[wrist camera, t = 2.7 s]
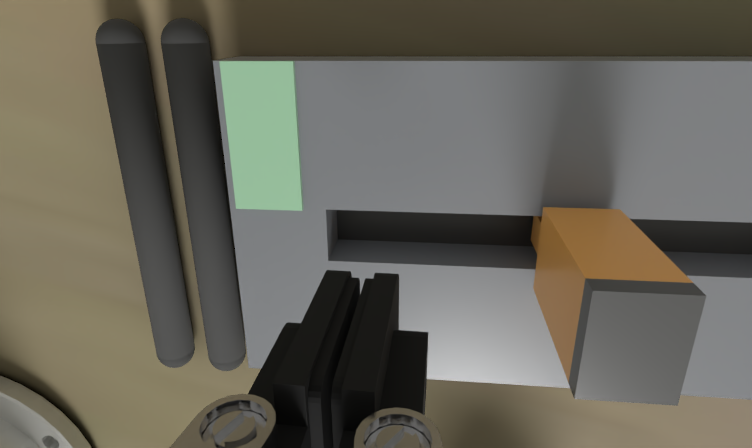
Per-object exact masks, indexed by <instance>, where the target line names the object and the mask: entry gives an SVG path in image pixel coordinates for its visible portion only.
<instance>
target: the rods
mask: <svg viewBox="0 0 752 448" xmlns="http://www.w3.org/2000/svg"><path fill="white" fill-rule="evenodd" d="M96 46H97V51H98V56H99V61H100V66H101V72H102V77H103V82H104V87H105V92H106V97H107V102H108V107H109V112H110V117H111V123H112V128H113V133H114V138H115V143H116V148H117V153H118V158H119V163H120V169H121V174H122V179H123V184H124V189H125V194H126V199H127V204H128V209H129V215H130V220H131V225H132V230H133V235H134V240H135V245H136V250H137V255H138V261H139V266H140V271H141V276H142V281H143V286H144V291H145V296H146V301H147V307H148V312H149V317H150V322H151V327H152V332H153V337H154V342H155V347H156V353H157V356H158V359H159V360H160V362H161V363H162V364H164V365H165V366H167V367H172V368H176V367H181V366H183V365H185V364H186V363H188V362H189V361H190V359H191V358H192V356H193V354H194V350H195V346H194V339H193V333H192V327H191V321H190V314H189V308H188V302H187V296H186V290H185V283H184V277H183V271H182V265H181V259H180V253H179V246H178V240H177V234H176V228H175V222H174V216H173V209H172V203H171V197H170V191H169V185H168V179H167V172H166V166H165V160H164V154H163V148H162V142H161V135H160V129H159V123H158V117H157V111H156V104H155V98H154V92H153V86H152V80H151V74H150V67H149V61H148V55H147V49H146V43H145V39H144V36H143V34H142V33H141V31H140V30H139V29H138V28H137V27H136V26H135V25H134V24H132V23H131V22H129V21H126V20H123V19H111V20H108V21H106V22H104V23H103V24H102V25H101V26H100V27H99V28H98V30H97V33H96ZM161 46H162V52H163V59H164V65H165V72H166V79H167V85H168V92H169V98H170V105H171V112H172V118H173V125H174V131H175V138H176V145H177V151H178V158H179V164H180V171H181V178H182V184H183V191H184V197H185V204H186V211H187V217H188V224H189V230H190V237H191V244H192V250H193V257H194V263H195V270H196V277H197V283H198V290H199V296H200V303H201V310H202V316H203V323H204V329H205V336H206V343H207V349H208V356H209V360H210V362H211V364H212V365H213V366H214V367H215V368H217V369H219V370H222V371H230V370H233V369H235V368H237V367H238V366H239V365H240V364H241V363H242V362H243V360H244V358H245V354H246V347H245V339H244V331H243V322H242V314H241V305H240V297H239V289H238V280H237V272H236V263H235V255H234V246H233V238H232V230H231V221H230V213H229V204H228V196H227V187H226V179H225V171H224V162H223V154H222V145H221V137H220V128H219V120H218V112H217V103H216V95H215V86H214V78H213V70H212V61H211V53H210V44H209V39H208V36H207V33H206V32H205V30H204V29H203V28H202V27H201V26H200V25H199V24H198V23H196V22H195V21H193V20H190V19H185V18H179V19H175V20H172V21H171V22H169V23H168V24H167V25H166V26H165V28H164V29H163V32H162V35H161Z"/></svg>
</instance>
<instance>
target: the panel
mask: <svg viewBox="0 0 752 448" xmlns="http://www.w3.org/2000/svg"><path fill="white" fill-rule="evenodd" d="M213 67H214V76H215V84H216V93H217V101H218V109H219V118H220V126H221V135H222V143H223V152H224V160H225V169H226V177H227V186H228V194H229V203H230V211H231V220H232V228H233V237H234V245H235V254H236V262H237V271H238V279H239V288H240V296H241V305H242V313H243V322H244V330H245V339H246V347H247V356H248V364H249V368H262V366H263V365H264V363H265V361H266V359H267V357H268V355H269V353H270V351H271V349H272V348H273V346H274V344H275V342H276V340H277V338H278V336H279V334H280V332H281V330H282V329H283V327H284V325H285V324H286V323H288V322H291V323H301V322H302V320H303V318H304V316H305V314H306V312H307V310H308V308H309V305H310V303H311V301H312V299H313V297H314V295H315V293H316V291H317V289H318V287H319V285H320V282H321V280H322V278H323V276H324V274H325V272H326V271H327V270H337V271H351V275H352V277H353V278H359V280H360V294H361V291H362V288H363V284H364V281H365V279H366V278H371V279H373V277H374V274H375V273H391V274H399V330H405V331H419V332H428V357H427V379H435V380H450V381H466V382H482V383H498V384H514V385H529V386H545V387H561V388H570V386H569V383H568V380H567V378H566V375H565V372H564V370H563V367H562V364H561V362H560V359H559V356H558V353H557V351H556V348H555V345H554V343H553V340H552V337H551V335H550V332H549V329H548V327H547V324H546V321H545V319H544V316H543V313H542V311H541V308H540V305H539V303H538V300H537V297H536V295H535V292H534V289H533V286H534V278H535V270H536V262H537V253H536V251H535V248H534V246H533V244H532V242H531V233H532V225H533V216H542V212H543V207H557V208H592V209H620V210H621V211H622V212H623V213H624V214H625V215H626V216H627V217H628V218H629V219H630V220H631V221H632V222H633V223H634V224H635V225H636V226H637V227H638V228H639V229H640V230H641V231H642V232H643V233H644V234H645V235H646V236H647V237H648V238H649V239H650V240H651V241H652V242H653V243H654V244H655V245H656V246H657V247H658V248H659V249H660V250H661V251H662V252H663V253H664V254H665V255H666V256H667V257H668V258H669V259H670V260H671V261H672V262H673V263H674V264H675V265H676V266H677V267H678V268H679V269H680V270H681V271H682V272H683V273H684V274H685V275H686V276H687V277H688V278H689V279H690V280H691V281H692V282H693V283H694V284H695V285H696V286H697V287H698V288H699V289H700V290H701V291H702V292H703V293H704V294H705V295H706V300H705V304H704V307H703V311H702V315H701V319H700V323H699V326H698V330H697V334H696V338H695V342H694V345H693V349H692V353H691V357H690V360H689V364H688V368H687V372H686V376H685V379H684V383H683V387H682V391H681V395H687V396H703V397H719V398H735V399H750V400H752V56H238V57H232V58H226V59H220V60H214V61H213Z"/></svg>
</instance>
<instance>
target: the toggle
mask: <svg viewBox="0 0 752 448" xmlns="http://www.w3.org/2000/svg"><path fill="white" fill-rule="evenodd" d="M531 242H532V244H533V246H534V248H535V251H536V253H537V262H536V270H535V278H534V286H533V289H534V292H535V295H536V297H537V300H538V303H539V305H540V308H541V311H542V313H543V316H544V319H545V321H546V324H547V327H548V329H549V332H550V335H551V337H552V340H553V343H554V345H555V348H556V351H557V353H558V356H559V359H560V362H561V364H562V367H563V370H564V372H565V375H566V378H567V380H568V383H569V386H570V388H571V391H572V394H573V396H574V399H585V400H601V401H616V402H631V403H647V404H662V405H677V406H678V402H679V398H680V395H681V391H682V387H683V383H684V379H685V376H686V372H687V368H688V364H689V360H690V357H691V353H692V349H693V345H694V342H695V338H696V334H697V330H698V326H699V323H700V319H701V315H702V311H703V307H704V304H705V300H706V295H705V294H704V293H703V292H702V291H701V290H700V289H699V288H698V287H697V286H696V285H695V284H694V283H693V282H692V281H691V280H690V279H689V278H688V277H687V276H686V275H685V274H684V273H683V272H682V271H681V270H680V269H679V268H678V267H677V266H676V265H675V264H674V263H673V262H672V261H671V260H670V259H669V258H668V257H667V256H666V255H665V254H664V253H663V252H662V251H661V250H660V249H659V248H658V247H657V246H656V245H655V244H654V243H653V242H652V241H651V240H650V239H649V238H648V237H647V236H646V235H645V234H644V233H643V232H642V231H641V230H640V229H639V228H638V227H637V226H636V225H635V224H634V223H633V222H632V221H631V220H630V219H629V218H628V217H627V216H626V215H625V214H624V213H623V212H622V211H621V210H620V209H592V208H557V207H543V212H542V216H533V225H532V233H531Z"/></svg>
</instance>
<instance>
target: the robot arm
mask: <svg viewBox="0 0 752 448" xmlns="http://www.w3.org/2000/svg"><path fill="white" fill-rule="evenodd" d="M427 357H428V332H419V331H405V330H399V274H391V273H375V274H374V277H373V279H371V278H366V279H365V281H364V284H363V288H362V291H361V294H360V280H359V278H353V277H352V275H351V271H337V270H327V271H326V272H325V274H324V276H323V278H322V280H321V282H320V285H319V287H318V289H317V291H316V293H315V295H314V297H313V299H312V301H311V303H310V305H309V308H308V310H307V312H306V314H305V316H304V318H303V320H302V322H301V323H291V322H288V323H286V324H285V325H284V327H283V329H282V330H281V332H280V334H279V336H278V338H277V340H276V342H275V344H274V346H273V348H272V349H271V351H270V353H269V355H268V357H267V359H266V361H265V363H264V365H263V366H262V368H261V370H260V372H259V374H258V376H257V378H256V380H255V382H254V384H253V385H252V387H251V389H250V391H249V393H248V394H238V395H230V396H227V397H224V398H221V399H218V400H216V401H215V402H213V403H211V404H209V405H208V406H206V407H205V408H204V409H203V410H202V411H201V412H200V413H198V414H197V416H196V417H195V418H194V419H193V420H192V422H191V423H190V424H189V425H188V426H187V427H186V429H185V430H184V431H183V432H182V433H181V435H180V436H179V437H178V438H177V439H176V441H175V442H174V443H173V444H172V445H171V447H170V448H443V445H442V439H441V436H440V433H439V431H438V428H437V427H436V426H435V424H434V423H433V422H432V421H431V420H430V419H429V418H427V417H426V416H424V415H425V399H426V380H427ZM0 448H91V446H90V444H89V443H88V441H87V440H86V439H85V437H84V436H83V434H82V433H81V432H80V430H79V429H78V428H77V427H76V426H75V425H74V424H73V423H72V422H71V420H70V419H69V418H68V417H67V416H66V415H65V414H64V413H63V412H62V411H60V410H59V409H58V408H56V407H55V406H54V405H53V404H51V403H50V402H49V401H47V400H46V399H45V398H43V397H42V396H40V395H39V394H37V393H35V392H33V391H32V390H30V389H28V388H27V387H25V386H23V385H21V384H19V383H17V382H14V381H12V380H10V379H7V378H5V377H2V376H0Z"/></svg>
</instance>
